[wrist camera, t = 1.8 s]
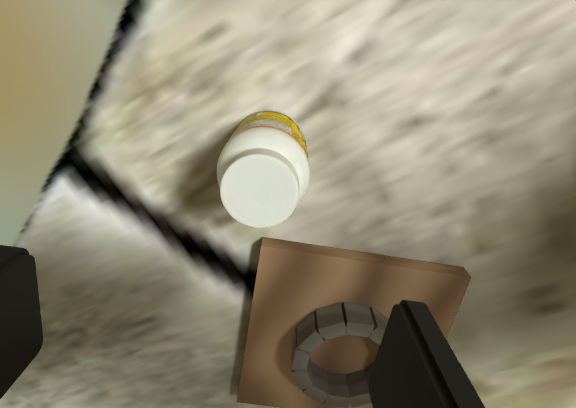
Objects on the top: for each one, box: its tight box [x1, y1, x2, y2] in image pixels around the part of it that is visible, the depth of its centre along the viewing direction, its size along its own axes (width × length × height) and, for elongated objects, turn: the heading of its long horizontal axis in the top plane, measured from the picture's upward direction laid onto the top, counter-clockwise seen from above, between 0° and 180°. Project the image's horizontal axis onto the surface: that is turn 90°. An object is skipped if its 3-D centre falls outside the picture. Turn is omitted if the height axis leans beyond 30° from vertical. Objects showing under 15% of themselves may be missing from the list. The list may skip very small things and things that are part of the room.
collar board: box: [237, 237, 471, 408], centre depth 32 cm, size 17×17×4 cm
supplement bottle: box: [217, 110, 310, 228], centre depth 23 cm, size 5×5×10 cm
